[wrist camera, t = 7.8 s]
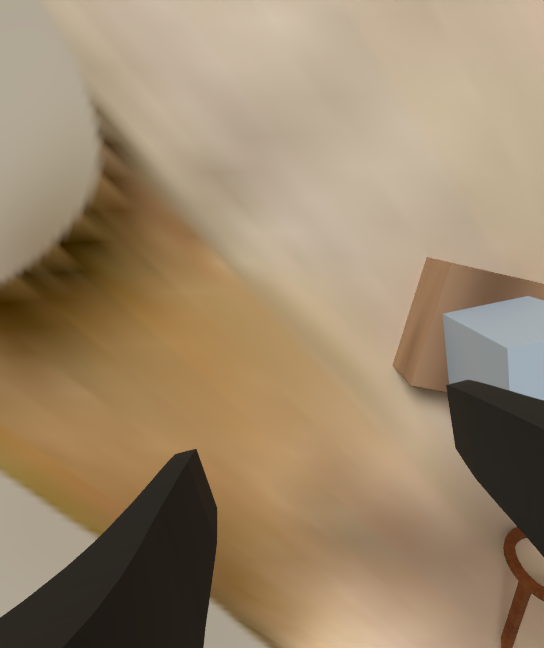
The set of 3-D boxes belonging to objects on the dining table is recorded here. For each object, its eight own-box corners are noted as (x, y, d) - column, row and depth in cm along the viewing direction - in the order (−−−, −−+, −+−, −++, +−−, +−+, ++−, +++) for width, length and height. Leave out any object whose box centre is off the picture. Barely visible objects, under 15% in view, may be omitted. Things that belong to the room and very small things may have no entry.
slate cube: (528, 295, 18) (624, 324, 14) (530, 375, 20) (620, 427, 15) (442, 313, 19) (507, 348, 14) (449, 391, 20) (512, 449, 15)
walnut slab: (529, 280, 21) (572, 291, 19) (490, 382, 23) (524, 407, 20) (423, 256, 21) (451, 263, 18) (390, 363, 22) (410, 385, 19)
